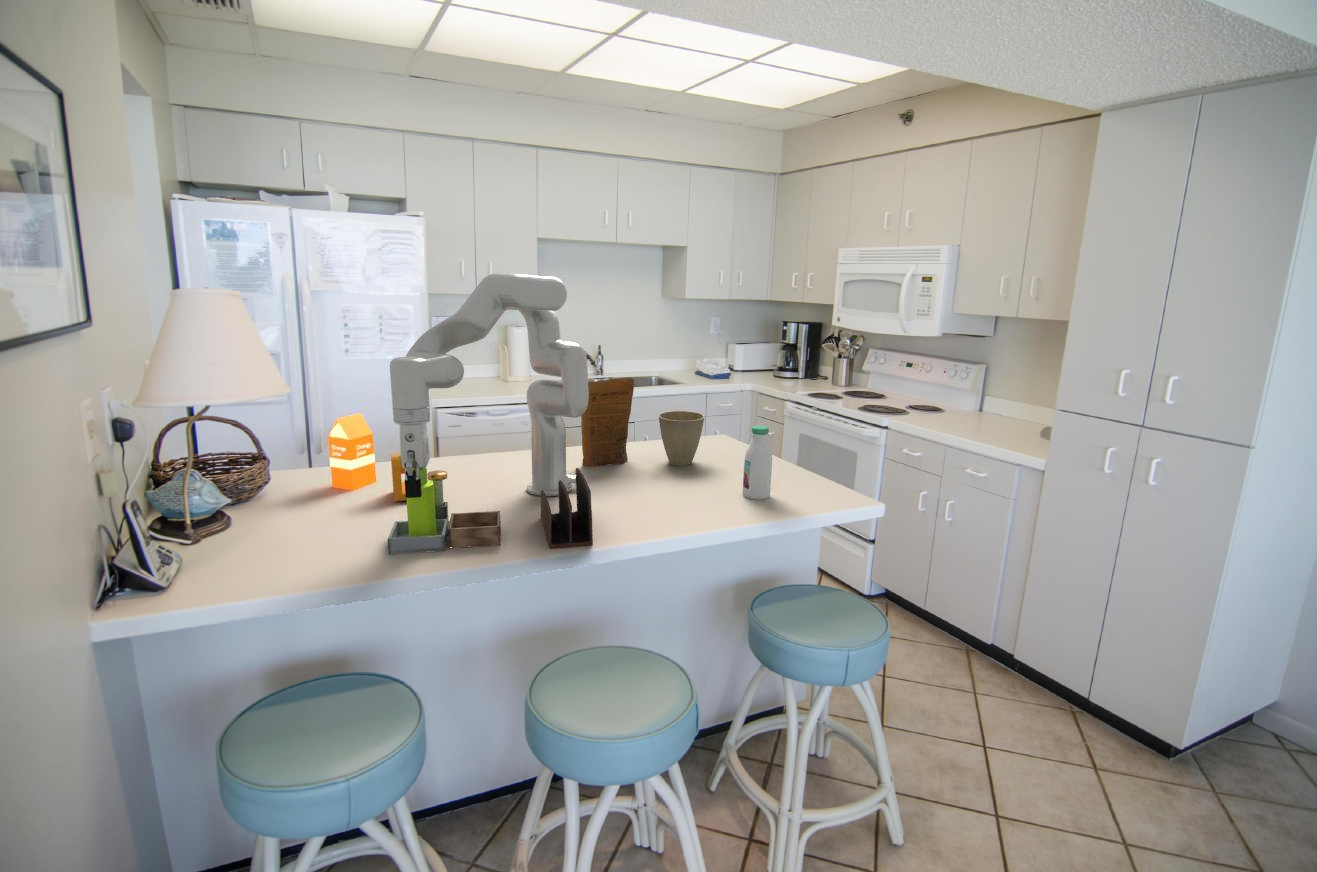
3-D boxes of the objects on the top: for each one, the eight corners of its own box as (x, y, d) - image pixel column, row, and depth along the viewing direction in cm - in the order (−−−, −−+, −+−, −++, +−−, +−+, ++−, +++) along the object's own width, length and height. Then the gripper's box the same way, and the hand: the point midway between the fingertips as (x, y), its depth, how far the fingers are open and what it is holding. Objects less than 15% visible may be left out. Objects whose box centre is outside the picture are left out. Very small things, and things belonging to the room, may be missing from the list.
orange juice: (331, 486, 189) (325, 417, 184) (356, 478, 197) (350, 411, 192) (353, 490, 186) (347, 420, 181) (377, 482, 194) (371, 414, 189)
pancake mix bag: (637, 463, 220) (639, 378, 213) (583, 470, 211) (583, 381, 204) (628, 458, 226) (629, 375, 219) (575, 464, 216) (575, 378, 210)
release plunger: (450, 519, 163) (447, 470, 160) (448, 526, 159) (446, 475, 156) (431, 520, 162) (428, 470, 159) (429, 527, 158) (426, 476, 155)
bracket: (423, 501, 179) (420, 458, 176) (394, 504, 177) (391, 460, 174) (421, 489, 189) (418, 448, 186) (393, 491, 186) (390, 450, 183)
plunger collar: (451, 523, 164) (450, 500, 162) (450, 531, 159) (449, 507, 158) (430, 525, 163) (429, 501, 161) (428, 532, 158) (426, 508, 157)
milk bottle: (773, 494, 192) (777, 426, 187) (765, 502, 185) (770, 431, 181) (747, 490, 195) (751, 422, 190) (738, 497, 188) (742, 428, 184)
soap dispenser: (408, 534, 155) (402, 450, 150) (439, 534, 155) (434, 450, 151) (401, 544, 149) (395, 457, 144) (433, 544, 150) (428, 457, 145)
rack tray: (448, 532, 158) (447, 518, 158) (445, 550, 148) (444, 535, 147) (396, 535, 156) (395, 521, 155) (388, 554, 146) (387, 539, 145)
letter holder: (579, 516, 172) (579, 463, 168) (593, 546, 153) (593, 487, 150) (540, 518, 169) (539, 465, 166) (549, 550, 151) (548, 490, 147)
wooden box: (500, 528, 162) (500, 510, 161) (500, 545, 152) (500, 526, 151) (452, 531, 159) (451, 513, 158) (449, 548, 150) (448, 529, 149)
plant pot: (660, 455, 230) (661, 409, 226) (704, 458, 228) (706, 412, 224) (654, 467, 215) (655, 419, 211) (700, 470, 213) (702, 421, 210)
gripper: (425, 422, 138) (430, 502, 142) (433, 406, 154) (437, 477, 158) (386, 423, 136) (392, 503, 140) (399, 407, 152) (404, 479, 156)
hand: (416, 490), depth 149 cm, fingers open, 9 cm apart
